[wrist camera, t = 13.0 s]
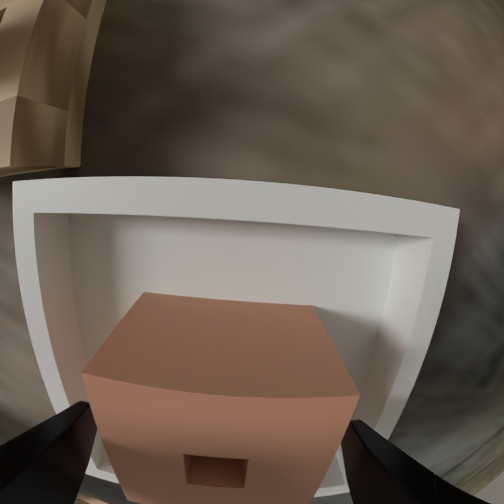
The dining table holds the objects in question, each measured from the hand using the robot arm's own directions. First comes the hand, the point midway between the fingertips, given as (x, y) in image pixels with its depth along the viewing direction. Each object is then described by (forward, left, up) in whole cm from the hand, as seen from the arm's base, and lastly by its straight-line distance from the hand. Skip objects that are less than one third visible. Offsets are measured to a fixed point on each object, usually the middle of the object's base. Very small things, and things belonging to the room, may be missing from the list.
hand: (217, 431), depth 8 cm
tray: (0, 0, -4) cm, 4 cm away
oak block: (+11, +10, -4) cm, 16 cm away
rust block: (0, 0, -3) cm, 3 cm away
